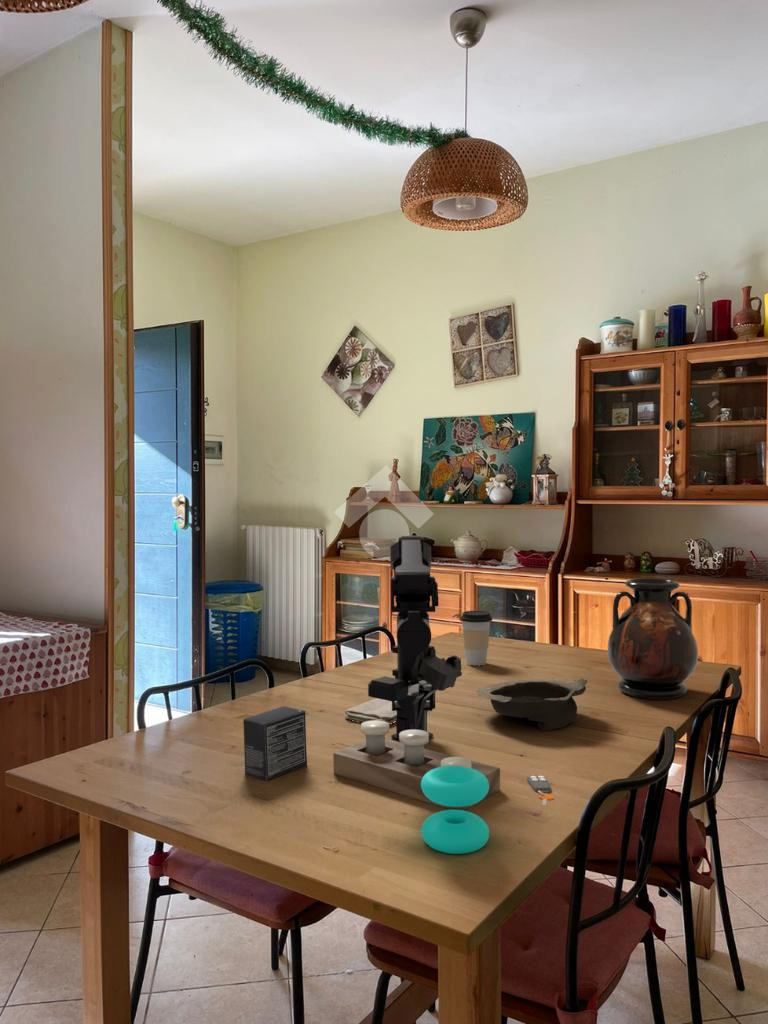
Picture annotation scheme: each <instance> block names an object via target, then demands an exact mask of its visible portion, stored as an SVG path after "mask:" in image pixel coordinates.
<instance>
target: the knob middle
mask: <svg viewBox="0 0 768 1024" xmlns="http://www.w3.org/2000/svg"><path fill="white" fill-rule="evenodd" d="M428 733H429V732H428V731H427V732H426V731H423V730H405V731H402V732H400V733H399V740H398V742H400V743H402V744H404V764H407V765H410V766H414V767H417V766H421V765H423V764H424V749H425V745H427V744H428V743H429V742H430V741H429V739H430V738H429V734H428Z"/></svg>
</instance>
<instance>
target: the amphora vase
mask: <svg viewBox="0 0 768 1024" xmlns="http://www.w3.org/2000/svg"><path fill="white" fill-rule="evenodd" d="M624 584H625V586H626V587H627V588H629V589H631V590H632V592H633V594H631V593H630V592H629V591H620V592H617V594H616V596H615V597H614V599H613V605H612V631H611V632H610V634H609V636H608V642H607V659H608V662H609V664H610V666H611V667H612V669H613V671H614V672H615V673H616V674H617V675H618V676H619V678H621V679H619V681H618V682H617V688H618V689H619V690H620V691H621V693H624V694H627V695H628V696H632V697H635V698H640V699H648V700H673V699H677V698H682V696H684V695H685V694H686V693H687V691H688V688H687V686H686V684H685V683H684V682H685V681H687V679H689V678H690V677H691V675H692V674H693V672H694V671H695V669H696V667H697V665H698V662H699V649H698V642H697V640H696V638H695V635H694V633H693V629H692V628H693V627H692V625H693V624H692V622H693V621H692V619H693V618H692V616H693V615H692V611H693V609H692V600H691V598H690V596H689V594H688V593H686V592H685V591H676V592H674V593H673V594H672V592H673V591H674V590H676V589H678V588H679V587H680V583H679V582H678V581H676V580H672V579H665V578H650V577H649V578H648V577H647V578H644V577H643V578H632V579H629V580H628V579H627V580H626V581H625V582H624ZM623 597H627V598H628V599H629V607H627V609H626V610H624V612H623V613H622V614H621V615H620V616H619V604H620V600H621V598H623ZM678 597H682V598H683V599H684V603H685V617H683V615H682V614H681V613H680V612H679V611H678V610H677V609H676V608H675V601H676V600H677V599H678Z"/></svg>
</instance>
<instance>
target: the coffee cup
mask: <svg viewBox="0 0 768 1024" xmlns="http://www.w3.org/2000/svg"><path fill="white" fill-rule="evenodd" d="M461 614H462V615H460V618H459V620H460V621H461V626H462V629H461V631H462V639H463V640H462V641H463V648H464V655H465V662H466V663H465V664H466V665H467V664H468V666H471V665H473V667H481V666H480V665H483V666H486V665H487V660H488V659H487V657H488V648H489V645H490V644H489V643H490V641H489V640H490V632H491V629H490V627H491V626H490V625H491V622H492V621H493V617H492V616H491V613H490V612H489V611H486V610H485V611H484V610H468V611H467V610H466V611H463V612H462V613H461ZM475 665H476V666H475ZM477 665H478V666H477Z"/></svg>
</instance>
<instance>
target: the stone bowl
mask: <svg viewBox="0 0 768 1024" xmlns="http://www.w3.org/2000/svg"><path fill="white" fill-rule="evenodd" d="M587 683H588V680H587V679H584V678H580V679H578V680H577V679H574V680H573V681H570V680H566V679H553V678H551V679H548V678H545V679H544V678H543V679H541V678H540V679H520V680H509V681H504V682H500V683H495V684H490V685H486V686H484V687H482V688H479V689H478V690H476V694H477V696H478V697H482V698H485V699H489V700H490V704H491V706H492V708H493V710H494V711H495V712H496V713H497V714H499V715H502V716H503V715H504V716H508V717H513V718H518V719H521V718H522V719H523V718H527V720H529V721H532V722H537V726H538V728H539V730H542V731H544V730H546V731H547V732H549V731H548V730H550V731H552V730H558V729H561V728H565V727H567V726H569V724H572V723H573V722H575V721H576V719H577V718H578V706H577V702H576V701H575V699H574V698H573V697H577V696H580V695H583V694H584V693H585V691H586V689H587V686H586V684H587ZM546 731H545V732H546Z"/></svg>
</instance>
